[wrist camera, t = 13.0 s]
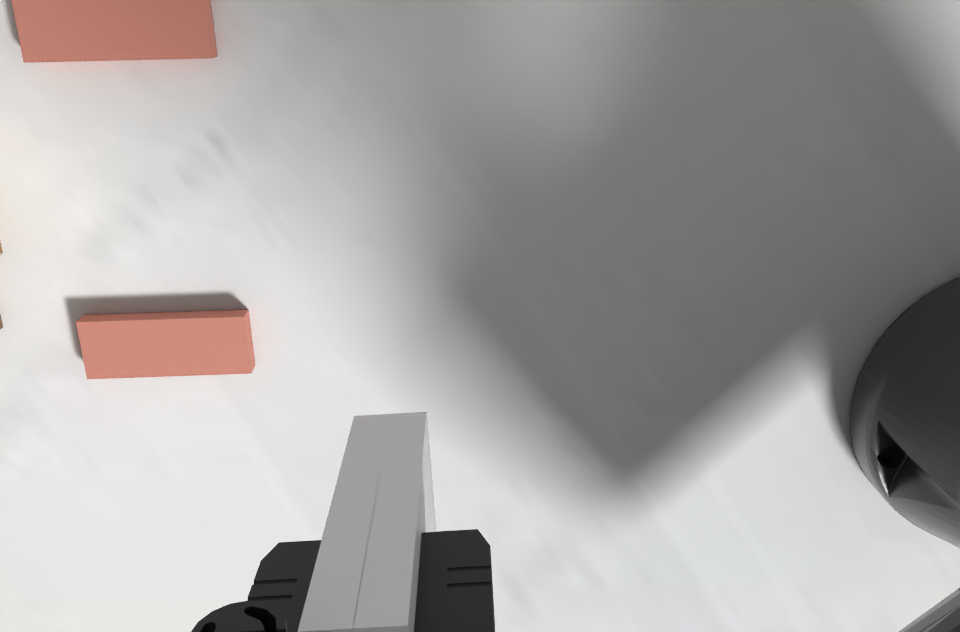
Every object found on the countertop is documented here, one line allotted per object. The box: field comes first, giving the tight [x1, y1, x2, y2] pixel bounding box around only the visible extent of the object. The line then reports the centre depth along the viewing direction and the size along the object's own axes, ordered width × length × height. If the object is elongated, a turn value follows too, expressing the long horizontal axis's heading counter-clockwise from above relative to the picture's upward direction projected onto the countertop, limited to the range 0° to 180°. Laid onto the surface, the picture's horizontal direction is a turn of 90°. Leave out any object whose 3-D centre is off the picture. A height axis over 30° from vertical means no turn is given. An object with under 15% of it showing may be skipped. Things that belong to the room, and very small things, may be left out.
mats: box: [11, 0, 255, 379], centre depth 40 cm, size 8×18×1 cm, turn 1°
